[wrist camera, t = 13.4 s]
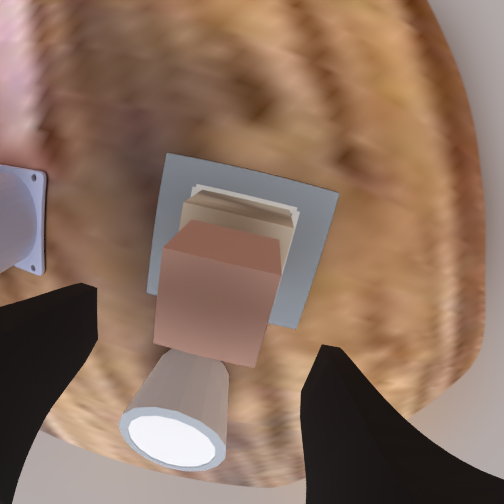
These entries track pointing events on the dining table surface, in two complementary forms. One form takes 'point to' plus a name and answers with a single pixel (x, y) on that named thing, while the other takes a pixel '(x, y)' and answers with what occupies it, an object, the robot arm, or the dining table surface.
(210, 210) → the base block
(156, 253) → the base plate
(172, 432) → the grey cylinder
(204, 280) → the top block
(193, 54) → the dining table surface
